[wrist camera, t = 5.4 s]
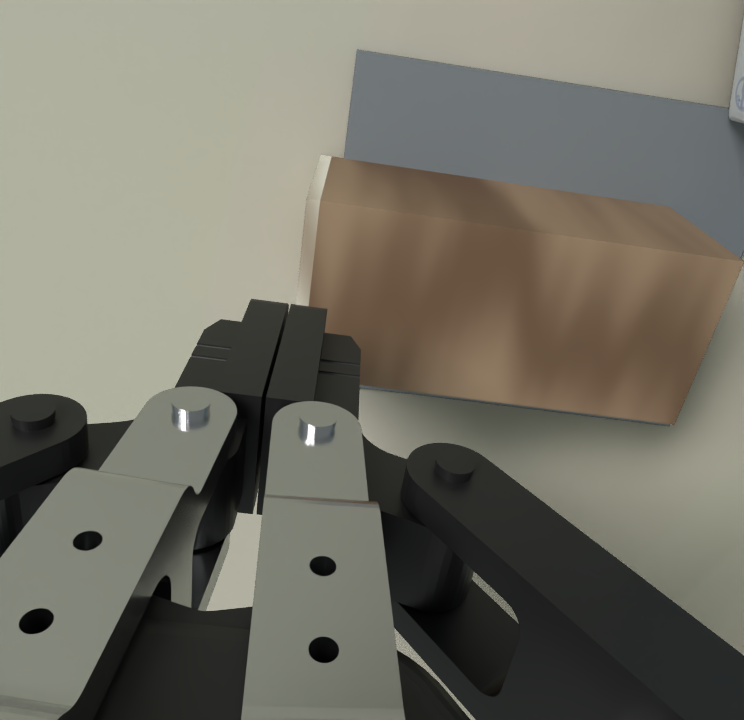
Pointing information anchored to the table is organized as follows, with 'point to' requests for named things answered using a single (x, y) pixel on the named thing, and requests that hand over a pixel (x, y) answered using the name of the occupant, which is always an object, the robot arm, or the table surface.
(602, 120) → the rubber mat
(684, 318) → the walnut block
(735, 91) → the light bulb box
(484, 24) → the table surface
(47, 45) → the table surface
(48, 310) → the table surface
